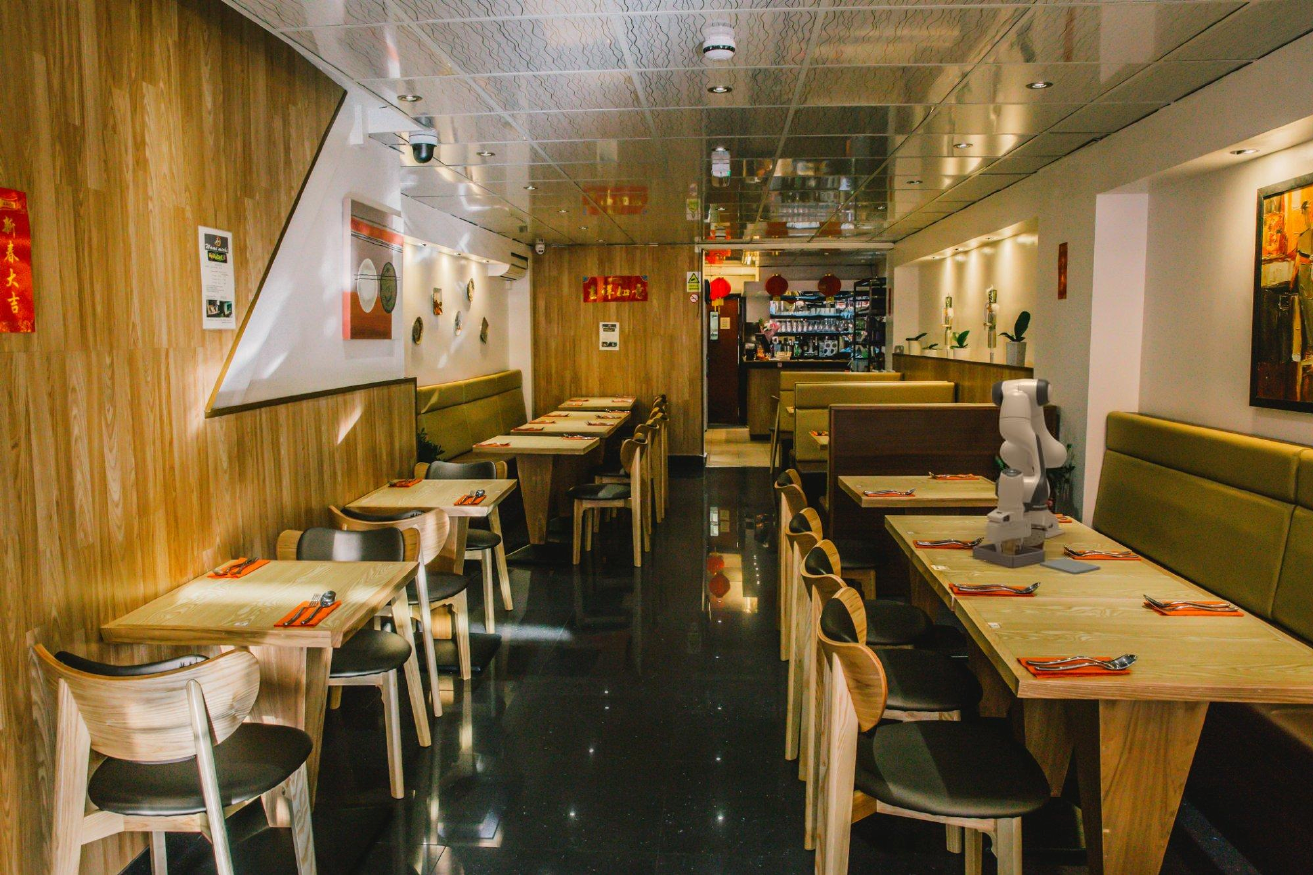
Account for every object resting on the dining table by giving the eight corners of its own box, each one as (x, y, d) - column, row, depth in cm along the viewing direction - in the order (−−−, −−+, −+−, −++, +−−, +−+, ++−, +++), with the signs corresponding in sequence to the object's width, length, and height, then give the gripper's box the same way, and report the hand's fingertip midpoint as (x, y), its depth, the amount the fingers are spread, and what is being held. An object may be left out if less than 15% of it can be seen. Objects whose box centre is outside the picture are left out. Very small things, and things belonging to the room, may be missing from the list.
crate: (1004, 551, 336) (1005, 541, 335) (1045, 561, 320) (1046, 551, 320) (971, 557, 327) (971, 546, 327) (1011, 568, 312) (1012, 557, 311)
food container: (1041, 548, 340) (1042, 523, 339) (1046, 552, 334) (1047, 526, 333) (1008, 547, 341) (1009, 522, 340) (1012, 551, 335) (1014, 525, 334)
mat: (1065, 560, 322) (1065, 558, 322) (1100, 569, 310) (1100, 566, 310) (1039, 565, 316) (1039, 563, 316) (1074, 574, 304) (1074, 572, 303)
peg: (1007, 557, 327) (1008, 536, 326) (1017, 560, 323) (1018, 538, 322) (999, 559, 325) (999, 537, 324) (1009, 561, 321) (1009, 540, 320)
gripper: (1022, 509, 330) (1020, 546, 331) (983, 515, 320) (982, 552, 321) (1036, 512, 324) (1034, 549, 326) (998, 518, 314) (996, 556, 316)
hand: (1008, 551), depth 323 cm, fingers open, 8 cm apart
